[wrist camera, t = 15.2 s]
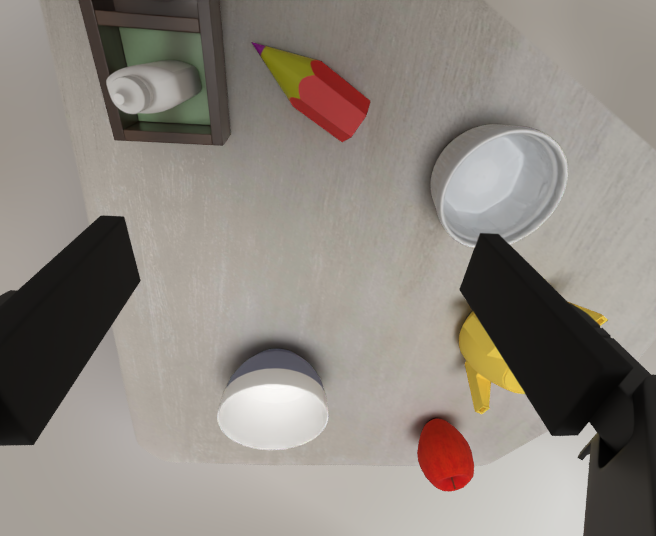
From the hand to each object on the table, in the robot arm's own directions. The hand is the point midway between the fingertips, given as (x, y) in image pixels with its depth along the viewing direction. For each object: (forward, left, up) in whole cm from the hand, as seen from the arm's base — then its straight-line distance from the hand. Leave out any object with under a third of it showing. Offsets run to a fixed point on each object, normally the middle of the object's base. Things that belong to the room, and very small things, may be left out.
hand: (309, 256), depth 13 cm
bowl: (+3, +39, -29) cm, 49 cm away
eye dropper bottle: (+13, -3, -28) cm, 31 cm away
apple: (-28, +56, -29) cm, 69 cm away
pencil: (0, -3, -29) cm, 29 cm away
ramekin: (-21, +5, -29) cm, 36 cm away
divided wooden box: (+13, -7, -28) cm, 32 cm away
